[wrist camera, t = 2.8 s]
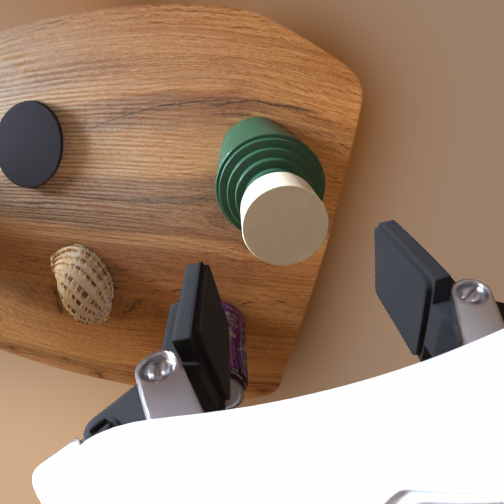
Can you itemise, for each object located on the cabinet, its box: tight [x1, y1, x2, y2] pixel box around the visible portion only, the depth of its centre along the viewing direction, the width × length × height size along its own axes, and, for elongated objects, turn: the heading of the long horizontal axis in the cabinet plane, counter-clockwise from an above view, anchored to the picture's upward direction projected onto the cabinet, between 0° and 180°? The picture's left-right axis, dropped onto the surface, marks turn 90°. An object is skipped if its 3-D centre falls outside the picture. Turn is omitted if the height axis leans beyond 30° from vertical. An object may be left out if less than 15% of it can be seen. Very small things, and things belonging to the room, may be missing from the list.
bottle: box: [215, 117, 325, 231], centre depth 23 cm, size 7×7×18 cm
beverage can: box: [220, 302, 248, 411], centre depth 35 cm, size 7×7×12 cm
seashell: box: [51, 244, 114, 325], centre depth 34 cm, size 8×6×10 cm
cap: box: [241, 172, 329, 265], centre depth 16 cm, size 4×4×2 cm
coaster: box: [0, 101, 63, 188], centre depth 27 cm, size 10×10×1 cm
